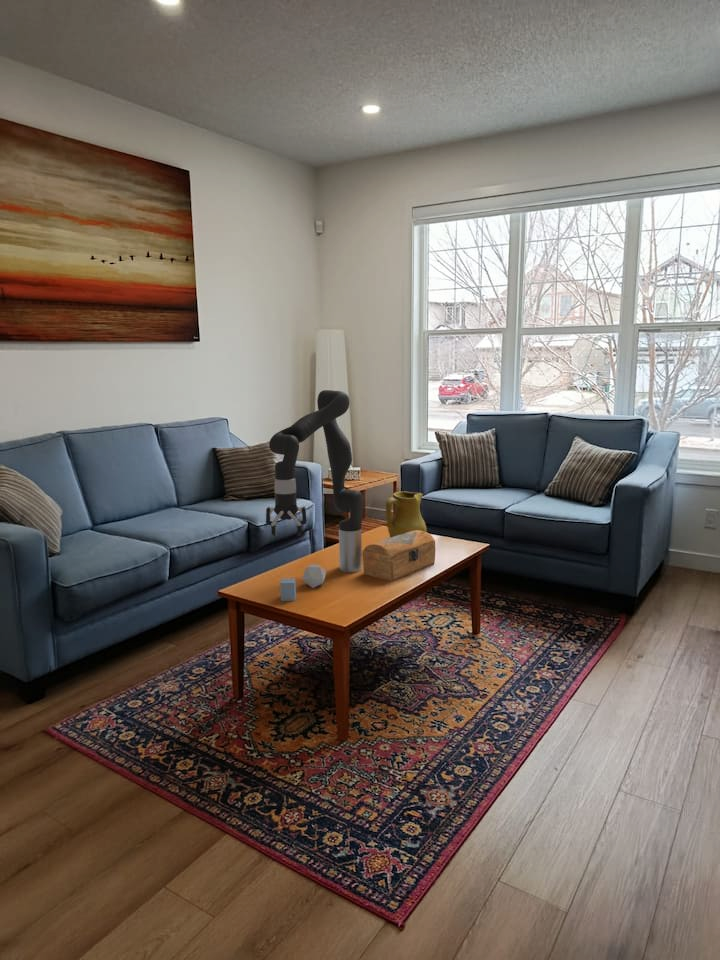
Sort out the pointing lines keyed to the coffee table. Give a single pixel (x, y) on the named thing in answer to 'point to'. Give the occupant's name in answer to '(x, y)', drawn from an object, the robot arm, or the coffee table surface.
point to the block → (288, 589)
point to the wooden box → (399, 555)
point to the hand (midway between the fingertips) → (286, 535)
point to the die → (314, 575)
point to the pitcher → (404, 513)
